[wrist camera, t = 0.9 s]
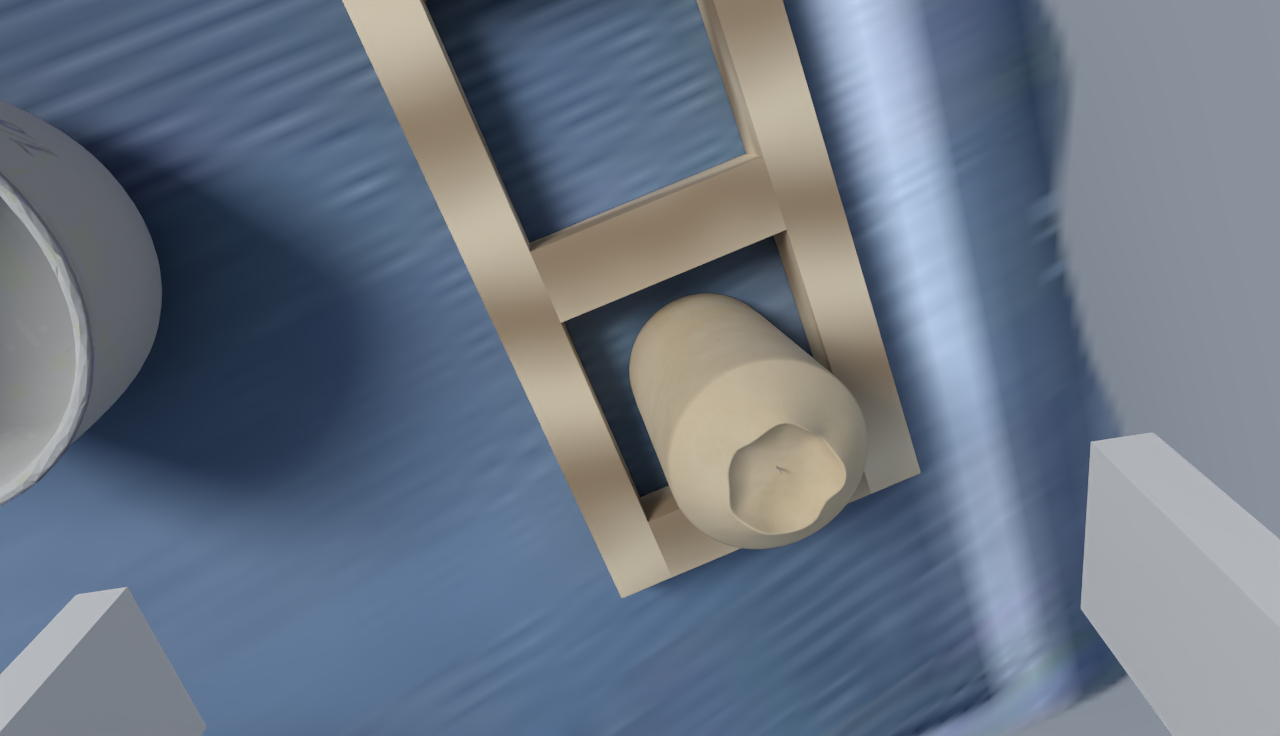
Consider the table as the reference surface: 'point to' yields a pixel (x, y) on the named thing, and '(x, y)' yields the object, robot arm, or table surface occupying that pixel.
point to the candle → (745, 423)
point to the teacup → (65, 295)
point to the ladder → (648, 260)
